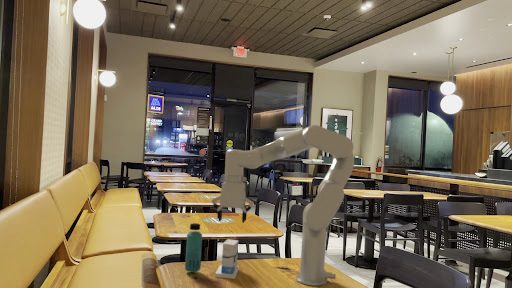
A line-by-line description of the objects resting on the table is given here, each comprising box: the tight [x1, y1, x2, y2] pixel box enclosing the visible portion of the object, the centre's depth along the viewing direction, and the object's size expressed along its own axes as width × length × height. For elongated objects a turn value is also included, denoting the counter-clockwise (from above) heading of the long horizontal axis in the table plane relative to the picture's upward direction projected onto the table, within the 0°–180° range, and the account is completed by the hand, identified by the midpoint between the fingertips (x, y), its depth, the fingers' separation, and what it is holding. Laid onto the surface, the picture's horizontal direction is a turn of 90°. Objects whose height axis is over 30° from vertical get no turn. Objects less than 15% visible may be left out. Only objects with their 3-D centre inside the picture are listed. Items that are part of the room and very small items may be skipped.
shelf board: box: [214, 264, 240, 280], centre depth 162 cm, size 8×12×2 cm
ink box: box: [221, 238, 239, 274], centre depth 161 cm, size 8×5×12 cm, turn 171°
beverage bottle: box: [184, 223, 203, 273], centre depth 160 cm, size 6×7×20 cm
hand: (231, 221), depth 161 cm, fingers open, 9 cm apart
